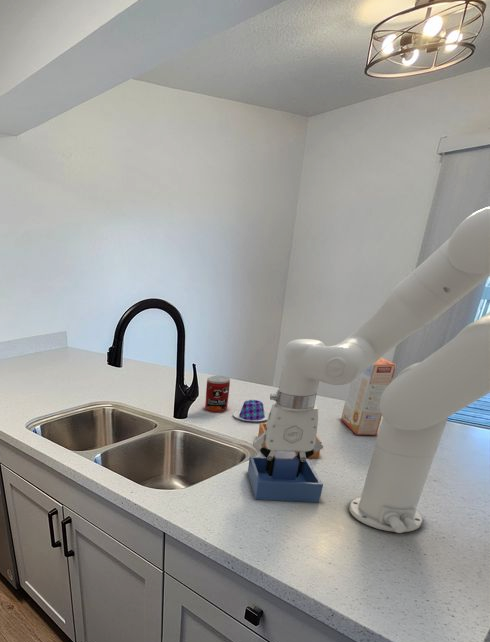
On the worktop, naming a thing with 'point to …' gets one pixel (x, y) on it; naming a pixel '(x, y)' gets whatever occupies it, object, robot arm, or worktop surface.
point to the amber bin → (315, 455)
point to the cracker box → (367, 398)
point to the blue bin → (284, 483)
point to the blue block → (285, 465)
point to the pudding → (252, 411)
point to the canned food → (217, 393)
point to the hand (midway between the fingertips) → (282, 473)
